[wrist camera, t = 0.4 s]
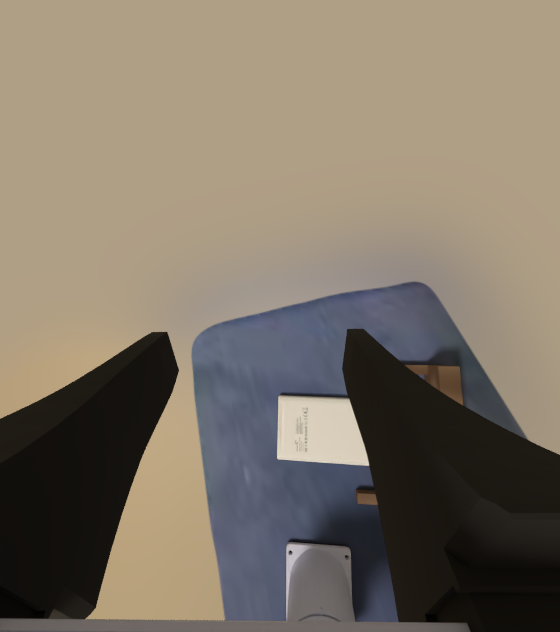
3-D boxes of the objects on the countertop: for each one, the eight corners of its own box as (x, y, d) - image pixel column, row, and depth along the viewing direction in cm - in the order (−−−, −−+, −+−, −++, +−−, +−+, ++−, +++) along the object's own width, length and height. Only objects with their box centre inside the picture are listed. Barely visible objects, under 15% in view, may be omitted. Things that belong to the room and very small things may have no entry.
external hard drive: (370, 461, 35) (278, 455, 36) (369, 398, 36) (279, 394, 37) (373, 466, 33) (276, 460, 34) (372, 400, 34) (278, 396, 36)
